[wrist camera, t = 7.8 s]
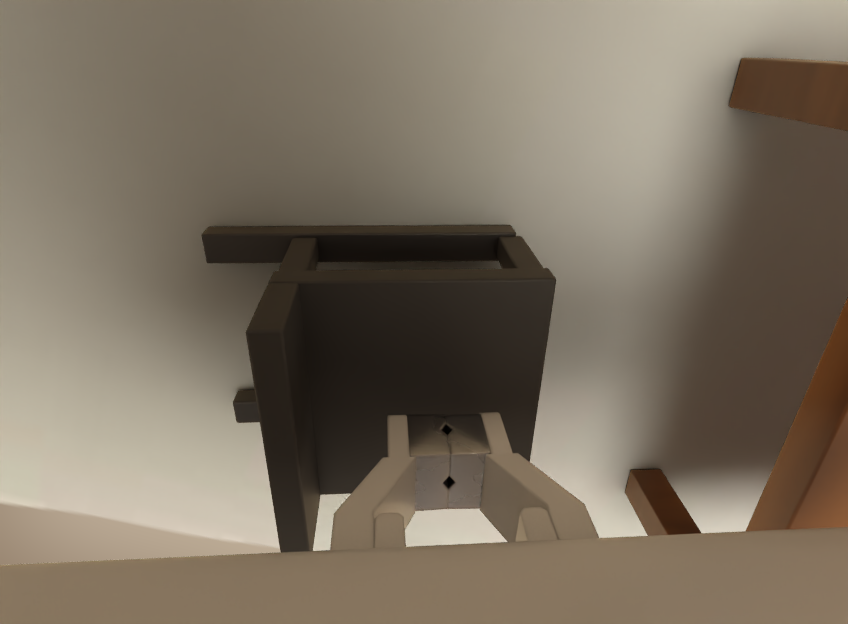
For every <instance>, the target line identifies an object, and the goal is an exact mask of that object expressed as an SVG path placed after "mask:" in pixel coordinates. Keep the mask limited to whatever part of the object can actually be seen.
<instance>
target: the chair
mask: <svg viewBox="0 0 848 624" xmlns="http://www.w3.org/2000/svg"><path fill="white" fill-rule="evenodd" d="M202 240H203V245H204V251H205V256H206V261H207V263H281V266H280V268H279V270H278V271H274V272H273V274H272V276H271V278H270V280H269V283H268V285H267V287H266V289H265V292H264V294H263V296H262V298H261V300H260V302H259V304H258V307H257V309H256V311H255V313H254V315H253V317H252V319H251V322H250V324H249V326H248V328H247V330H246V337H247V343H248V350H249V356H250V362H251V368H252V375H253V381H254V387H255V390H239V391H238V392H237V394H236V396H235V399H234V401H233V406H234V411H235V417H236V421H237V422H238V423H247V422H260V425H261V431H262V437H263V444H264V450H265V456H266V463H267V469H268V475H269V481H270V488H271V494H272V500H273V506H274V513H275V519H276V525H277V532H278V538H279V544H280V550H281V552H303V551H313V544H314V537H315V530H316V523H317V515H318V508H319V501H320V495H322V494H347V493H352V492H353V491H354V490H355V489H356V488H357V487H358V485H359V484H360V483H361V482H362V481H363V480H364V479H365V477H366V476H367V475H368V474H369V473H370V472H371V470H372V469H373V468H374V467H375V466H376V465H377V464H378V462H379V461H380V460H381V459H382V458H383V457H388V451H387V417H388V415H406V416H407V415H435V414H444V415H448V414H480V413H489V412H498V413H499V414H500V416H501V419H502V422H503V425H504V428H505V431H506V434H507V437H508V440H509V443H510V447H511V450H512V453H518V454H520V455H521V456H522V457H524V458H525V459H526V460H527V461H529V462H530V455H531V448H532V442H533V435H534V428H535V421H536V414H537V407H538V401H539V394H540V387H541V380H542V373H543V367H544V360H545V353H546V346H547V339H548V332H549V326H550V319H551V312H552V305H553V298H554V292H555V285H556V278H555V277H554V276H553V274H552V273H551V271H550V270H549V269H548V268H543V267H542V265H541V264H540V262H539V261H538V260H537V258H536V257H535V255H534V254H533V252H532V251H531V249H530V248H529V246H528V245H527V244H526V242H525V241H524V239H523V238H522V237H520V236H516V232H515V231H514V229H513V228H512V226H510V225H493V226H255V227H208V228H207V229H206V230H205V231H204V233H203V234H202ZM407 261H499V263H500V265H501V267H502V269H412V270H316V267H317V264H318V262H407Z"/></svg>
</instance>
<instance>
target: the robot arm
mask: <svg viewBox="0 0 848 624" xmlns="http://www.w3.org/2000/svg"><path fill="white" fill-rule="evenodd" d="M387 451H388V457H383V458H382V459H381V460H380V461H379V462H378V464H377V465H376V466H375V467H374V468H373V469H372V470H371V472H370V473H369V474H368V475H367V476H366V477H365V479H364V480H363V481H362V482H361V483H360V484H359V485H358V487H357V488H356V489H355V490H354V491H353V492H352V494H351V495H350V496H349V497H348V498H347V499H346V500H345V502H344V503H343V504H342V505H341V506H340V507H339V508H338V510H337V511H336V512H335V513H334V519H333V529H332V538H331V548H330V550H326V551H303V552H281V553H259V554H237V555H216V556H215V555H214V556H191V557H169V558H147V559H124V560H103V561H81V562H58V563H35V564H14V565H13V564H12V565H0V624H848V527H832V528H810V529H788V530H766V531H744V532H722V533H700V534H677V535H656V536H636V537H613V538H599V536H598V534H597V532H596V529H595V527H594V525H593V522H592V520H591V518H590V516H589V513H588V511H587V509H586V506H585V504H584V503H582V502H581V501H580V500H578V499H577V498H576V497H574V496H573V495H572V494H571V493H569V492H568V491H567V490H565V489H564V488H563V487H561V486H560V485H559V484H558V483H556V482H555V481H554V480H552V479H551V478H550V477H548V476H547V475H546V474H544V473H543V472H542V471H541V470H539V469H538V468H537V467H535V466H534V465H533V464H531V463H530V462H529V461H527V460H526V459H525V458H524V457H522V456H521V455H520V454H518V453H512V450H511V447H510V443H509V440H508V437H507V434H506V431H505V428H504V425H503V422H502V419H501V416H500V414H499V413H498V412H489V413H480V414H448V415H444V414H435V415H407V416H406V415H388V417H387ZM471 508H480V511H481V512H482V513H483V514H484V515H485V516H486V517H487V519H488V520H489V521H490V522H491V523H492V524H493V525H494V527H495V528H496V529H497V530H498V531H499V532H500V533H501V535H502V536H503V537H504V538H505V539H506V540H507V541H508V542H501V543H479V544H458V545H437V546H415V547H406V543H405V529H406V527H407V525H408V524H409V522H410V520H411V518H412V517H413V515H414V513H415V511H422V510H436V509H471Z"/></svg>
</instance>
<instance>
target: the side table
mask: <svg viewBox="0 0 848 624" xmlns="http://www.w3.org/2000/svg"><path fill="white" fill-rule="evenodd" d="M729 107H732V108H736V109H741V110H746V111H751V112H756V113H761V114H766V115H771V116H775V117H780V118H785V119H790V120H795V121H800V122H805V123H810V124H814V125H819V126H824V127H829V128H834V129H839V130H844V131H848V62H838V61H820V60H802V59H784V58H742V60H741V63H740V67H739V71H738V74H737V78H736V82H735V86H734V89H733V93H732V97H731V100H730V104H729ZM625 493H626V495H627V497H628V499H629V501H630V503H631V505H632V507H633V508H634V510H635V512H636V514H637V516H638V518H639V520H640V522H641V524H642V525H643V527H644V529H645V531H646V533H647V535H648V536H656V535H677V534H700V533H701V531H700V530H699V528H698V527H697V525H696V524H695V522H694V521H693V519H692V517H691V516H690V514H689V513H688V511H687V510H686V508H685V507H684V505H683V503H682V502H681V500H680V499H679V497H678V496H677V494H676V492H675V491H674V489H673V488H672V486H671V485H670V483H669V482H668V480H667V478H666V477H665V475H664V474H663V472H662V471H661V469H648V470H631V472H630V476H629V479H628V483H627V487H626V490H625ZM832 527H848V297H847V299H846V302H845V304H844V306H843V309H842V311H841V313H840V316H839V318H838V320H837V322H836V325H835V327H834V329H833V332H832V334H831V336H830V339H829V341H828V343H827V345H826V348H825V350H824V352H823V355H822V357H821V359H820V361H819V364H818V366H817V368H816V371H815V373H814V375H813V378H812V380H811V382H810V384H809V387H808V389H807V391H806V394H805V396H804V398H803V401H802V403H801V405H800V407H799V410H798V412H797V414H796V417H795V419H794V421H793V424H792V426H791V428H790V430H789V433H788V435H787V437H786V440H785V442H784V444H783V447H782V449H781V451H780V453H779V456H778V458H777V460H776V463H775V465H774V467H773V470H772V472H771V474H770V476H769V479H768V481H767V483H766V486H765V488H764V490H763V492H762V495H761V497H760V499H759V502H758V504H757V506H756V509H755V511H754V513H753V515H752V518H751V520H750V522H749V525H748V527H747V529H746V531H766V530H788V529H810V528H832Z"/></svg>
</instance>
